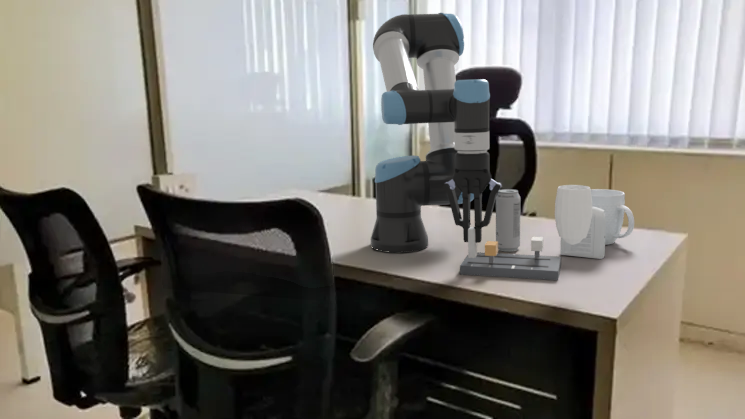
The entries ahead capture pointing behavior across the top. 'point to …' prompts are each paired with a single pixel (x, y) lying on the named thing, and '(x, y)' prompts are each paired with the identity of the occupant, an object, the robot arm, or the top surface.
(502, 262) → the console
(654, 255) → the top surface
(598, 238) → the photo printer
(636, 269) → the top surface
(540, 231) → the top surface
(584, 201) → the cup
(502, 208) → the energy drink can
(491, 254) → the fader orange
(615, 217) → the mug
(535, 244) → the fader white
